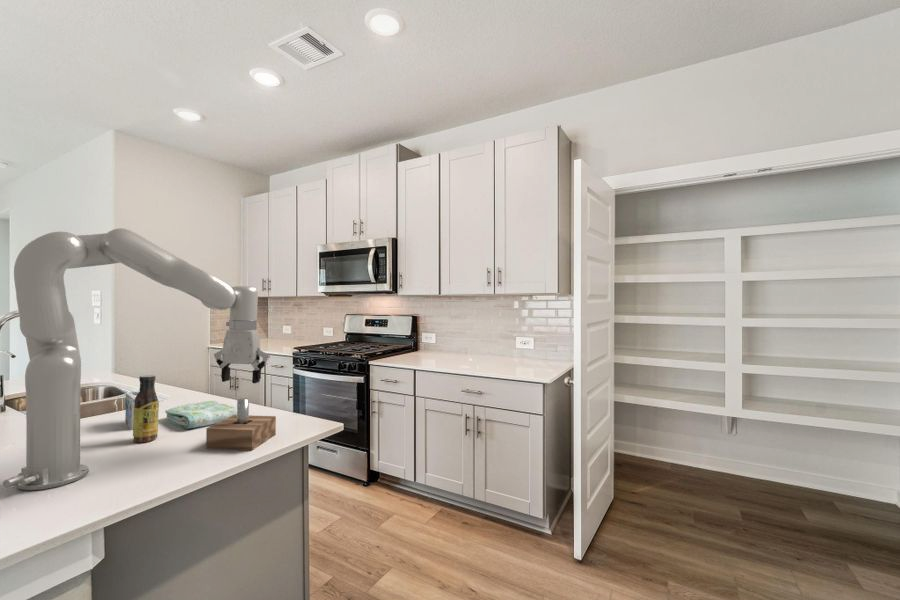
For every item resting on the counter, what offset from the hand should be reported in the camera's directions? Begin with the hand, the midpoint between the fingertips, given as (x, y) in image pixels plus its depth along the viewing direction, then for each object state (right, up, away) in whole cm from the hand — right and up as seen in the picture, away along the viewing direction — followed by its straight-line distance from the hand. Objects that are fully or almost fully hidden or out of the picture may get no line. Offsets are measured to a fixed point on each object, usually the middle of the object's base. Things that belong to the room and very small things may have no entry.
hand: (240, 381), depth 129 cm
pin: (0, -18, +1) cm, 18 cm away
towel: (-25, -19, +23) cm, 39 cm away
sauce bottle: (-30, -18, +1) cm, 35 cm away
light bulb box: (-43, -18, +16) cm, 49 cm away
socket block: (0, -19, +1) cm, 19 cm away
